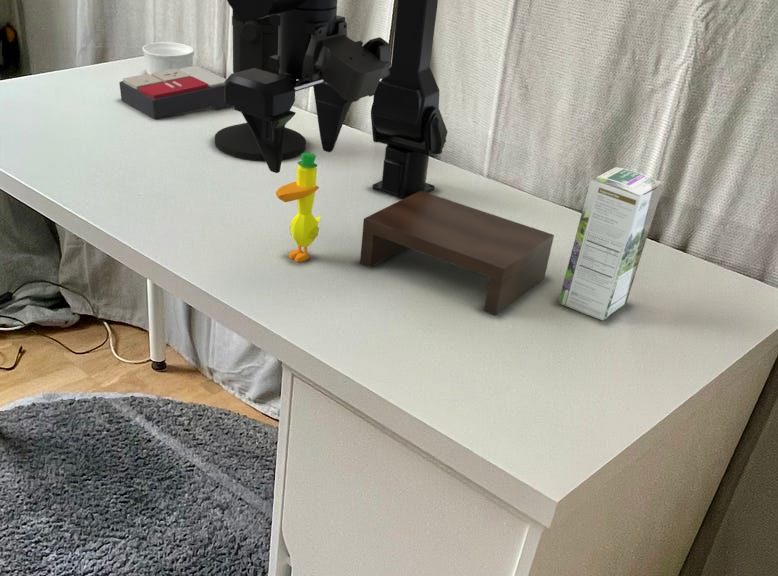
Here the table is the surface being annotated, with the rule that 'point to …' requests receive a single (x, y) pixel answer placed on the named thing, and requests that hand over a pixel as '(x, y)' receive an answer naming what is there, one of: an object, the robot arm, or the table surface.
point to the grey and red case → (174, 91)
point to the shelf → (461, 243)
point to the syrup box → (609, 241)
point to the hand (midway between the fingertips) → (302, 161)
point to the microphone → (253, 51)
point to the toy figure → (302, 205)
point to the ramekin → (167, 56)
